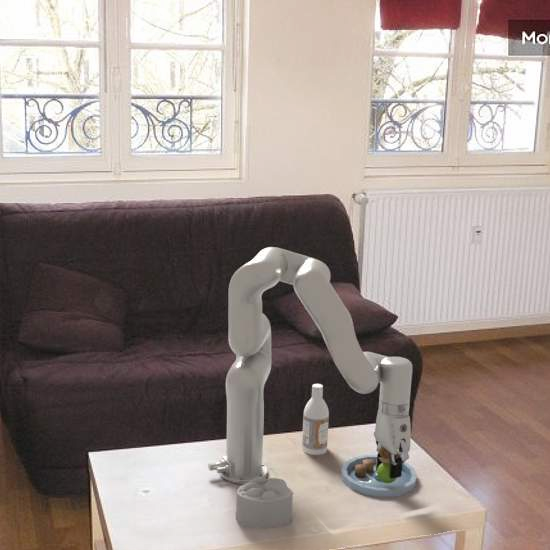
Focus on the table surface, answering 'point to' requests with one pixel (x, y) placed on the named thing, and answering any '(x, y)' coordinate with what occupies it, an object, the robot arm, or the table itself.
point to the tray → (377, 479)
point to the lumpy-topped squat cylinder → (264, 503)
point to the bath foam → (315, 423)
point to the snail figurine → (385, 465)
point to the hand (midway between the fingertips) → (388, 471)
